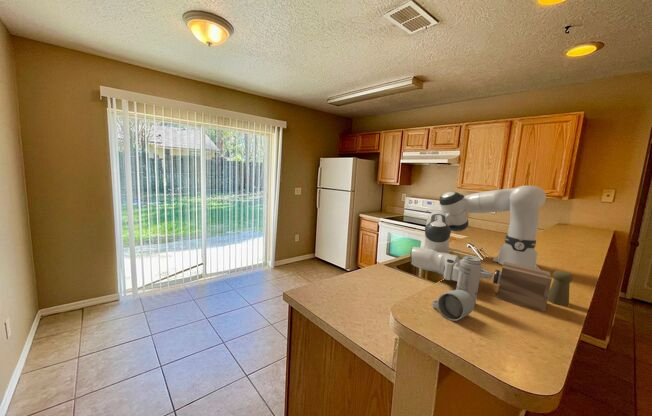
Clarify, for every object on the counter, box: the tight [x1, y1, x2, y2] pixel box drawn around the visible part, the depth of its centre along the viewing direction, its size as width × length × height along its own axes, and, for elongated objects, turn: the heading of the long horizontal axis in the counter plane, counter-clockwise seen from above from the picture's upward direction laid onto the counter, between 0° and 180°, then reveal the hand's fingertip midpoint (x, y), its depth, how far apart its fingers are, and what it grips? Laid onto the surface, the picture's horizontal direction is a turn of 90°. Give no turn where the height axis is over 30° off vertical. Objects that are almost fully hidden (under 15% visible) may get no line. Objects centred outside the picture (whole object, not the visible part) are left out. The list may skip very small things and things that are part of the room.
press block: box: [496, 262, 553, 313], centre depth 92 cm, size 9×13×11 cm
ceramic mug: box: [432, 289, 475, 322], centre depth 79 cm, size 11×8×8 cm
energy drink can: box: [455, 255, 483, 305], centre depth 86 cm, size 6×6×15 cm
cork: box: [547, 269, 574, 307], centre depth 93 cm, size 6×6×11 cm
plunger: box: [492, 269, 502, 285], centre depth 93 cm, size 5×13×5 cm, turn 54°
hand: (492, 276), depth 97 cm, fingers closed
